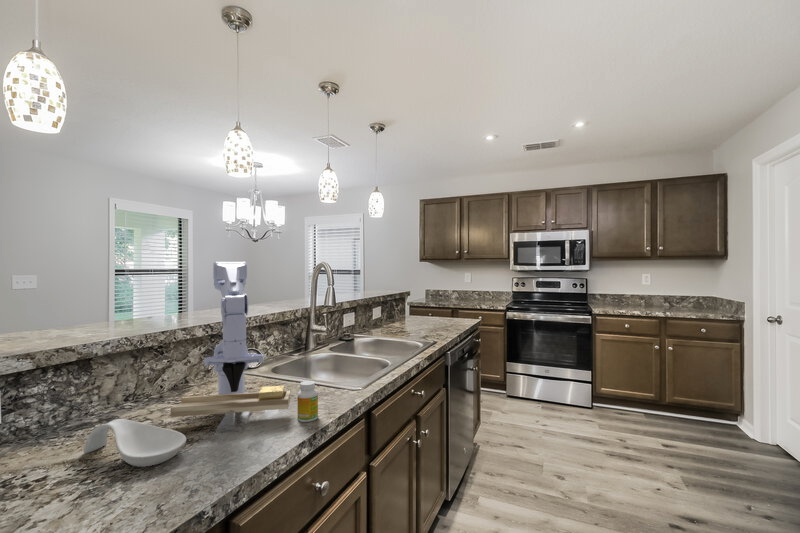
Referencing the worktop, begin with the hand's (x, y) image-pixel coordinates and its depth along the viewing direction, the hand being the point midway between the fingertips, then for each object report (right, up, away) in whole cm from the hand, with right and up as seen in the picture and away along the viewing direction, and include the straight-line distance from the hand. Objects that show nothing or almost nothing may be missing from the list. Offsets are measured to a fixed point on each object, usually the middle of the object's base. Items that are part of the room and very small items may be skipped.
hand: (234, 390), depth 97 cm
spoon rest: (-14, -9, -18) cm, 24 cm away
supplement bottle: (+19, -8, +2) cm, 21 cm away
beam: (0, -4, 0) cm, 4 cm away
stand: (0, -8, 0) cm, 8 cm away
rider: (+9, -3, +2) cm, 10 cm away
